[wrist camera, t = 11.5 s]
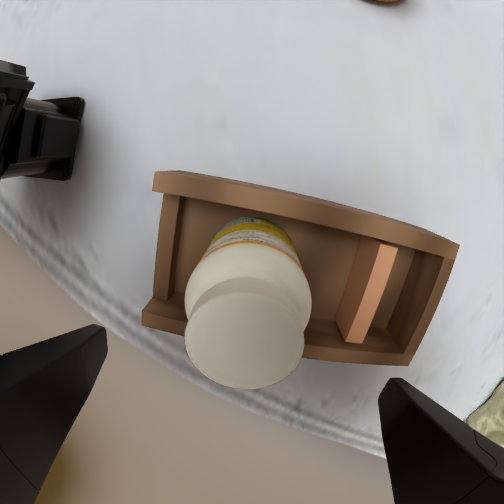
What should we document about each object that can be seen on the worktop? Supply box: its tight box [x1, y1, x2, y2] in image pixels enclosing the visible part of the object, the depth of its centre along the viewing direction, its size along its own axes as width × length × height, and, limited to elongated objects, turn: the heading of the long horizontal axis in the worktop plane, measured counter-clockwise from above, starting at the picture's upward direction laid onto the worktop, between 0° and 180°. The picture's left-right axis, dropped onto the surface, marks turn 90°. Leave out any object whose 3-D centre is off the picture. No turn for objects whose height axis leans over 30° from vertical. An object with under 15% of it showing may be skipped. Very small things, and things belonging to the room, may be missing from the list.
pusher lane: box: [142, 170, 460, 366], centre depth 17 cm, size 18×9×4 cm, turn 78°
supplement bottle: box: [185, 216, 312, 389], centre depth 13 cm, size 5×5×10 cm
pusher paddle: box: [335, 235, 398, 344], centre depth 17 cm, size 1×6×3 cm, turn 168°
